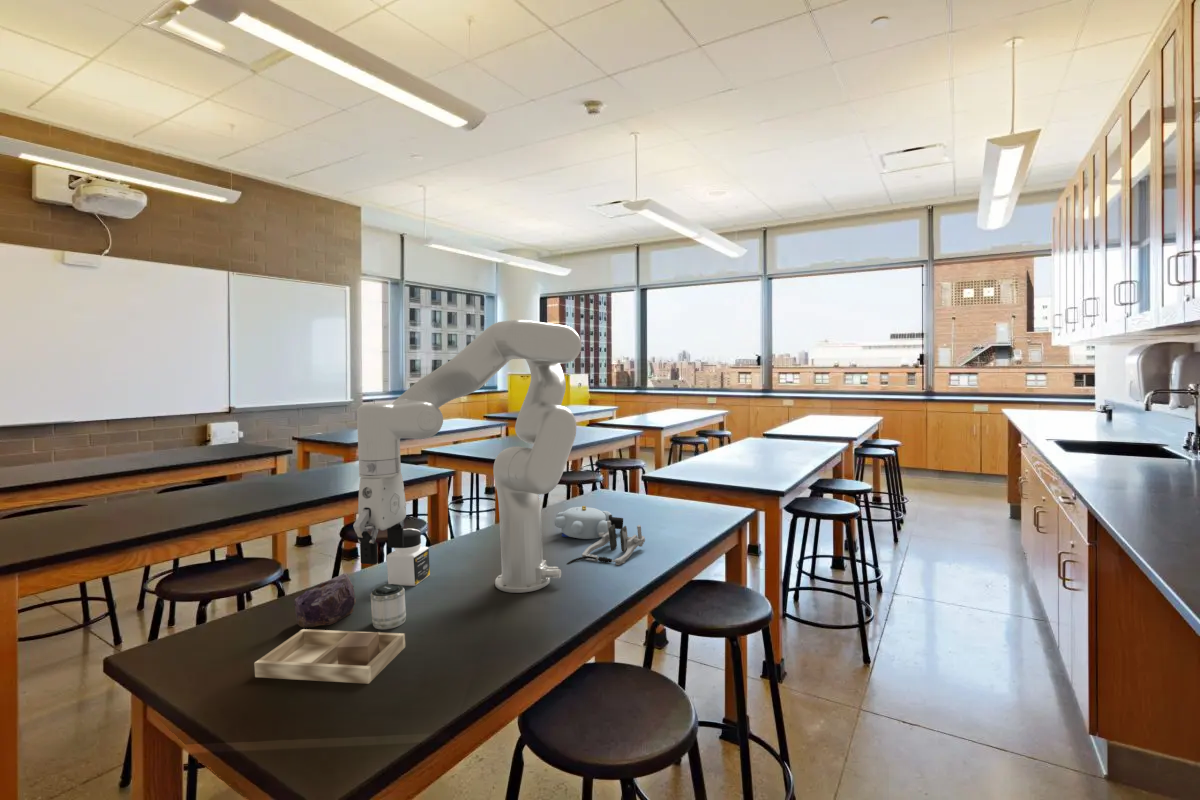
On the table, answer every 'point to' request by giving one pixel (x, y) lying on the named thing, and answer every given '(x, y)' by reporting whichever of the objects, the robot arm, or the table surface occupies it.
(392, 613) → the camera lens
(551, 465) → the robot arm
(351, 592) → the rock
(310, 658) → the caddy
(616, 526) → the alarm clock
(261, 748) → the table surface
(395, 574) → the medicine bottle
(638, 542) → the bike brake
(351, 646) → the walnut block
